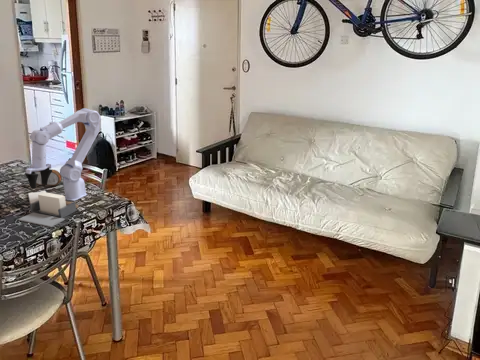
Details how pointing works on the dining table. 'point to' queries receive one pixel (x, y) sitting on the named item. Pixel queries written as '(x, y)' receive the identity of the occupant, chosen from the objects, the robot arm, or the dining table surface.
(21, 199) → the dining table surface
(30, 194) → the phone case
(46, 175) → the robot arm
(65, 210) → the frame
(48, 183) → the tin
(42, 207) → the white rectangular block
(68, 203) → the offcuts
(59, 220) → the mat
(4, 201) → the dining table surface
